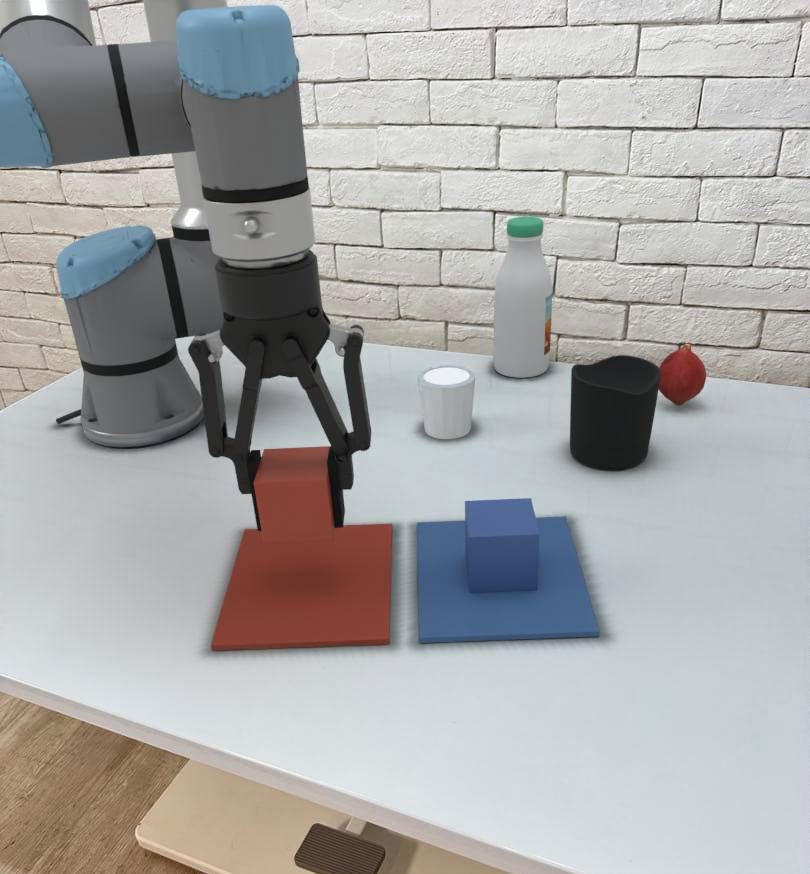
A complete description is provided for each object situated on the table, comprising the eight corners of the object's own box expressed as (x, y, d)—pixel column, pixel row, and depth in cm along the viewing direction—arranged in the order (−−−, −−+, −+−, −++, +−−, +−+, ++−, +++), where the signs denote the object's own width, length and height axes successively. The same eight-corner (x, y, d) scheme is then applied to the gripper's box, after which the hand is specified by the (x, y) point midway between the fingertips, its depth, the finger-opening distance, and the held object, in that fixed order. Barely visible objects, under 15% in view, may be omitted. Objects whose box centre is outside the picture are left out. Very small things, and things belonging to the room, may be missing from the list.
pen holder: (646, 477, 92) (657, 391, 87) (559, 467, 95) (564, 384, 90) (654, 439, 100) (664, 357, 94) (573, 431, 102) (578, 351, 97)
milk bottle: (534, 383, 115) (540, 229, 104) (483, 373, 118) (484, 224, 107) (558, 363, 120) (565, 215, 109) (508, 354, 124) (511, 210, 113)
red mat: (211, 650, 72) (210, 645, 72) (245, 534, 87) (244, 529, 87) (389, 644, 71) (388, 638, 71) (392, 528, 86) (392, 523, 86)
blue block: (469, 593, 76) (468, 536, 72) (465, 554, 81) (464, 500, 77) (537, 590, 76) (539, 534, 72) (529, 552, 81) (531, 497, 77)
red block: (263, 543, 73) (253, 482, 70) (272, 507, 78) (263, 448, 75) (333, 540, 73) (326, 479, 69) (338, 504, 78) (332, 445, 74)
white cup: (471, 443, 101) (471, 388, 97) (414, 440, 102) (412, 386, 99) (479, 418, 107) (479, 365, 103) (425, 415, 108) (423, 363, 104)
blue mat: (419, 643, 71) (418, 637, 71) (417, 527, 86) (416, 522, 86) (599, 636, 71) (599, 631, 71) (565, 521, 86) (565, 516, 86)
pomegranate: (650, 411, 106) (657, 349, 101) (657, 393, 110) (664, 333, 106) (698, 417, 104) (708, 354, 99) (703, 398, 108) (713, 337, 104)
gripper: (122, 275, 60) (186, 549, 72) (393, 261, 59) (409, 540, 72) (149, 247, 66) (203, 503, 79) (395, 234, 65) (409, 495, 78)
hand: (301, 520), depth 75 cm, fingers closed on red block, 6 cm apart
